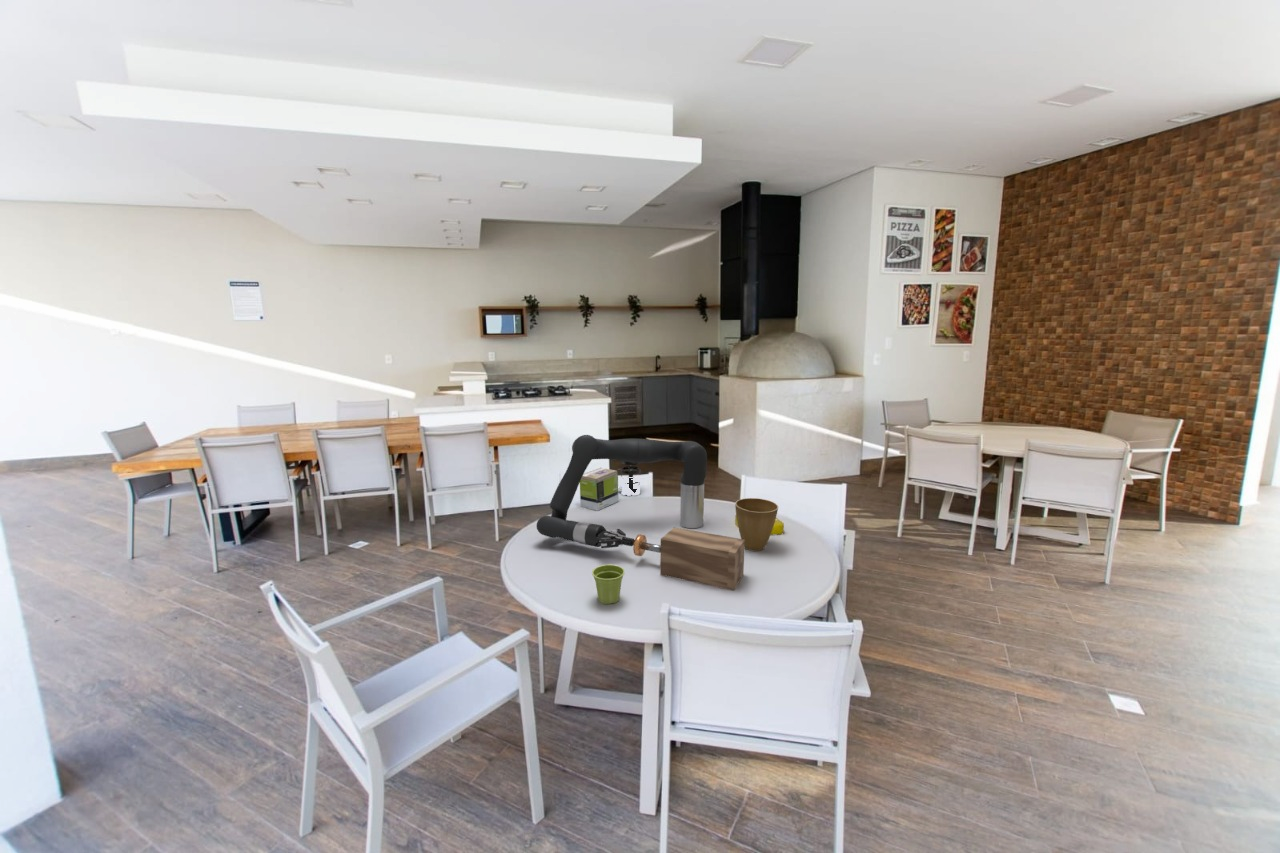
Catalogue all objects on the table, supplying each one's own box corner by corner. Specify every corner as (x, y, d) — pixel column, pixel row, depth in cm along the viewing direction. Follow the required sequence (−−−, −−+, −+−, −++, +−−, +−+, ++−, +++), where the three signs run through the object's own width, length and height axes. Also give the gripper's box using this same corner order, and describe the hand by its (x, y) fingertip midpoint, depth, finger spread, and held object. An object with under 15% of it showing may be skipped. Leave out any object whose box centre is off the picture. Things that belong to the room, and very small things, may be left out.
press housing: (673, 560, 183) (673, 527, 180) (743, 575, 173) (744, 539, 170) (660, 574, 173) (660, 539, 170) (733, 590, 163) (735, 553, 160)
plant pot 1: (586, 604, 155) (586, 575, 153) (600, 589, 163) (600, 562, 162) (617, 610, 151) (616, 581, 150) (629, 594, 160) (629, 567, 158)
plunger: (642, 550, 185) (642, 531, 183) (699, 562, 176) (700, 541, 175) (633, 558, 179) (633, 538, 177) (692, 570, 170) (692, 549, 169)
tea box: (601, 498, 248) (601, 466, 245) (618, 502, 242) (618, 470, 239) (579, 507, 236) (578, 474, 233) (597, 511, 230) (596, 478, 227)
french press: (641, 490, 260) (641, 443, 255) (642, 496, 250) (642, 447, 246) (617, 490, 259) (616, 443, 255) (617, 496, 250) (617, 448, 245)
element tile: (785, 535, 206) (786, 523, 205) (748, 538, 203) (749, 526, 202) (767, 521, 221) (768, 509, 220) (733, 523, 217) (733, 512, 216)
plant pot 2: (743, 557, 185) (745, 513, 182) (727, 540, 200) (729, 499, 197) (783, 553, 188) (785, 510, 185) (765, 537, 203) (767, 496, 200)
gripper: (578, 530, 182) (624, 539, 175) (598, 517, 194) (642, 525, 187) (579, 551, 184) (624, 560, 176) (598, 537, 195) (642, 545, 188)
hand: (633, 542), depth 182 cm, fingers closed
